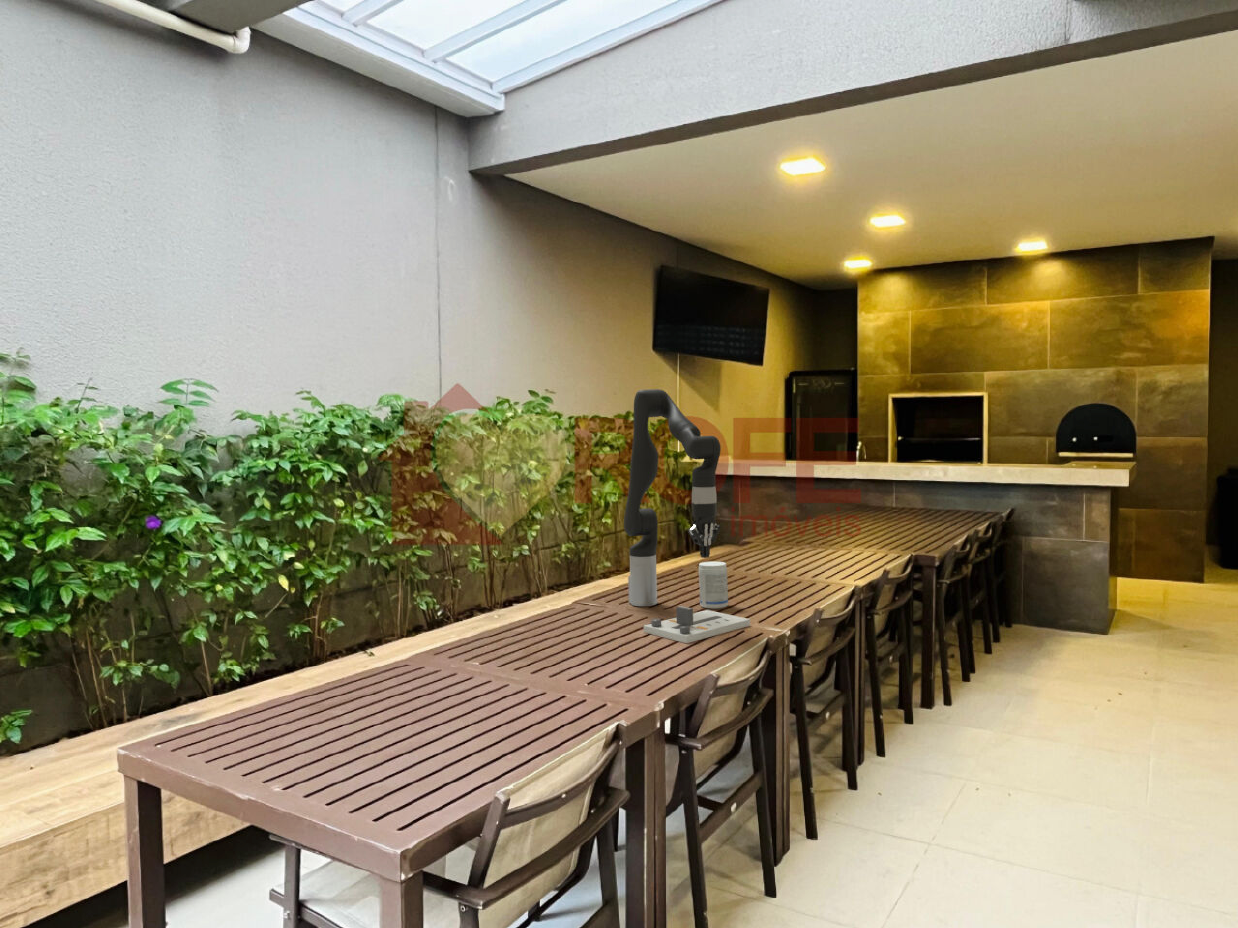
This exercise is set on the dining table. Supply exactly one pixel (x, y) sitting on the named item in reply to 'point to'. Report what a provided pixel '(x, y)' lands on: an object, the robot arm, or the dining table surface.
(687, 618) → the fader tab
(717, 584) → the supplement tub
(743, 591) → the dining table surface
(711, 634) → the console board
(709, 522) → the robot arm
